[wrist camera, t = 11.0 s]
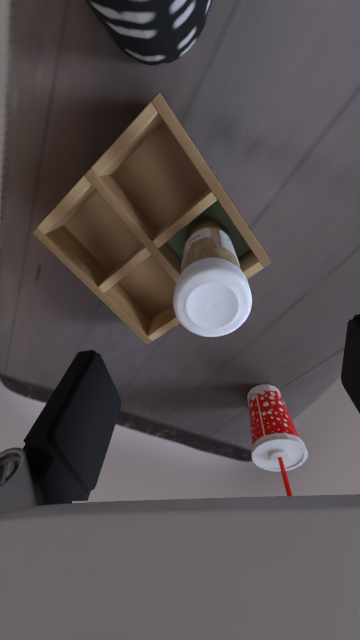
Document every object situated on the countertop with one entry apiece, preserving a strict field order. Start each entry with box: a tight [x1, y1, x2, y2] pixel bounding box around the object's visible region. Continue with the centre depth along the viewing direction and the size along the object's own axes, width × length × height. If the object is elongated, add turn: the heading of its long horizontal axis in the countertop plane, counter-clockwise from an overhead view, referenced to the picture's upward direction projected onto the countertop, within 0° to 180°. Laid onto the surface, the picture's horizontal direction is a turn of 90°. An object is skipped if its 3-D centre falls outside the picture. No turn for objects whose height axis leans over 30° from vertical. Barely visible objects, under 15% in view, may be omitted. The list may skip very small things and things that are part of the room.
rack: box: [33, 93, 272, 344], centre depth 25 cm, size 15×15×5 cm
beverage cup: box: [247, 384, 308, 496], centre depth 32 cm, size 6×6×14 cm
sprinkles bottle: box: [173, 220, 252, 337], centre depth 21 cm, size 5×5×14 cm
